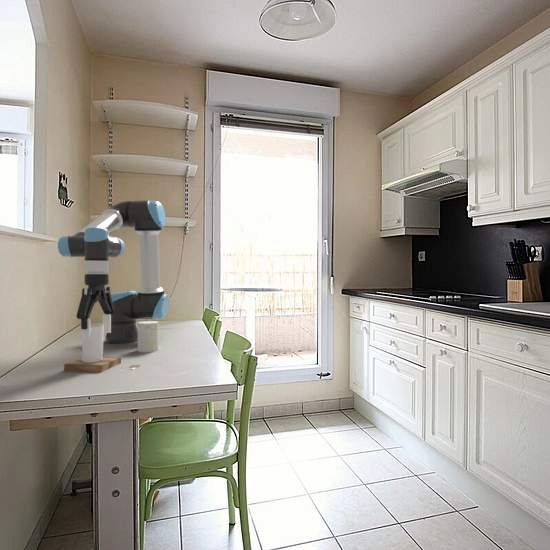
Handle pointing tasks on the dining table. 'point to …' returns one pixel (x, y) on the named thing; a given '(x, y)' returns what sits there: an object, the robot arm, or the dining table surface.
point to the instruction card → (131, 367)
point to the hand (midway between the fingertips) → (96, 335)
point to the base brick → (92, 365)
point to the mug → (93, 344)
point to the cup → (148, 336)
